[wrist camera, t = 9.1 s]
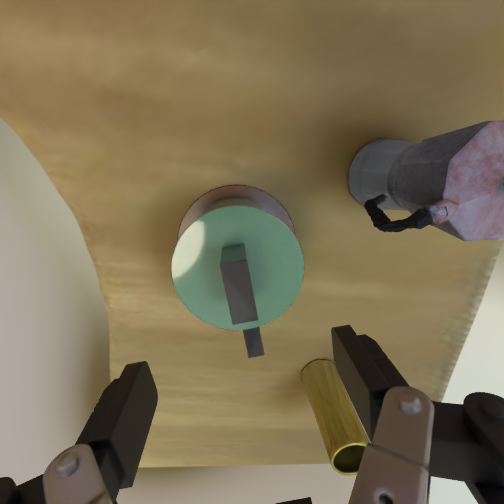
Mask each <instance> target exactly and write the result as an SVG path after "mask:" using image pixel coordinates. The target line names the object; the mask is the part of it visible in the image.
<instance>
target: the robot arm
mask: <svg viewBox="0 0 504 504" xmlns="http://www.w3.org/2000/svg"><path fill="white" fill-rule="evenodd" d="M331 333H332V344H333V354H334V361H335V365H336V369H337V371H338V374H339V376H340V378H341V380H342V382H343V384H344V386H345V388H346V391H347V393H348V395H349V397H350V399H351V401H352V403H353V405H354V407H355V409H356V412H357V414H358V416H359V418H360V420H361V422H362V424H363V426H364V428H365V431H366V433H367V435H368V437H369V439H370V441H371V444H370V443H367V445H366V447H365V450H364V453H363V456H362V460H361V463H360V466H359V470H358V473H357V476H356V480H355V483H354V487H353V490H352V494H351V497H350V500H349V503H348V504H429V494H430V483H431V476H434V477H440V478H446V479H452V480H458V481H464V482H465V483H466V485H467V487H468V488H469V490H470V491H471V493H472V494H473V496H474V498H475V499H476V500H477V502H478V504H504V398H502V397H499V396H497V395H494V394H490V393H485V392H475V393H471V394H469V395H467V396H466V397H465V399H464V404H463V405H461V404H450V403H441V402H436V401H432V400H430V398H429V397H428V396H427V395H426V394H424V393H423V392H421V391H420V390H417V389H415V388H412V387H410V386H409V385H408V383H407V382H406V381H405V379H404V378H403V377H402V375H401V374H400V373H399V371H398V370H397V369H396V368H395V366H394V365H393V364H392V362H391V361H390V360H389V359H388V357H387V356H386V354H385V353H384V352H383V351H382V349H381V348H380V346H379V345H378V344H377V342H376V341H375V340H373V339H372V338H370V337H368V336H367V335H365V334H364V335H359V336H357V335H356V333H355V332H354V330H353V329H352V327H351V326H350V325H344V326H339V327H333V328H332V329H331ZM157 401H158V394H157V389H156V386H155V383H154V380H153V377H152V374H151V371H150V368H149V366H148V363H147V362H146V361H143V362H137V363H132V364H127V365H126V366H125V368H124V370H123V372H122V374H121V376H120V378H118V379H114V380H113V381H112V383H111V384H110V385H109V386H108V387H107V388H106V389H105V390H104V392H103V394H102V396H101V397H100V399H99V403H97V405H96V407H95V408H94V412H92V414H91V416H90V418H89V419H88V421H87V423H86V425H85V427H84V429H83V431H82V432H81V435H80V436H79V438H78V440H77V442H76V443H75V445H74V446H72V447H70V448H68V449H66V450H64V451H63V452H62V453H60V454H59V455H58V456H57V457H56V458H55V459H54V460H53V461H52V462H51V463H50V465H49V466H48V467H47V469H46V471H45V473H44V474H42V475H40V476H38V477H36V478H34V479H31V480H29V481H27V482H25V483H23V484H21V485H18V486H16V484H15V482H14V481H13V479H11V478H9V477H3V478H0V504H118V503H117V501H116V498H117V495H118V492H119V489H123V488H128V487H132V485H133V482H134V479H135V475H136V472H137V469H138V466H139V462H140V459H141V456H142V452H143V449H144V446H145V442H146V439H147V436H148V433H149V429H150V426H151V423H152V419H153V416H154V413H155V409H156V406H157ZM276 504H312V501H311V498H310V497H308V498H303V499H297V500H292V501H286V502H281V503H276Z"/></svg>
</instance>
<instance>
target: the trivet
mask: <svg viewBox="0 0 504 504" xmlns="http://www.w3.org/2000/svg"><path fill="white" fill-rule="evenodd" d="M227 198H247V199H251V200H254V201H257V202H259V203H261V204H262V205H264V206H266V207H267V208H268V209H269V210H271V211H272V212H273V214H274V215H275V216H276V217H277V218H279V219H280V220H281V221H282V222H284V223H285V224H286V225H287V226H288V228H289V229H290V230H291V231H292V233H293V234H294V235H295V231H294V227H293V224H292V221H291V219H290V217H289V215H288V213H287V212H286V210H285V209H284V207H283V206H282V205H281V204H280V203H279V202H278V201H277V200H276V199H275V198H273V197H272V196H271V195H269V194H267V193H266V192H264V191H262V190H259V189H257V188H254V187H250V186H244V185H230V186H224V187H220V188H217V189H214V190H212V191H209V192H208V193H206V194H204V195H203V196H201V197H200V198H199V199H198V200H196V201H195V202H194V203H193V205H192V206H191V207H190V208H189V209H188V211H187V212H186V214H185V216H184V218H183V219H182V222H181V225H180V228H179V233H178V241H179V239H180V237H181V235H182V234H183V233H184V231H185V230H186V229H187V228H188V227H189V226H190V225H191V224H192V223H193V222H194V221H195V220H196V219H197V217H198V216H199V215H200V214H201V213H202V212H203V211H204V210H205V209H206V208H207V207H208V206H210V205H212V204H213V203H215V202H218V201H220V200H223V199H227Z"/></svg>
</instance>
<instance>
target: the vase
mask: <svg viewBox="0 0 504 504" xmlns="http://www.w3.org/2000/svg"><path fill="white" fill-rule="evenodd" d="M301 380H302V383H303V385H304V387H305V390H306V392H307V395H308V398H309V401H310V403H311V406H312V409H313V411H314V415H315V418H316V421H317V423H318V426H319V429H320V432H321V435H322V438H323V441H324V443H325V447H326V450H327V453H328V456H329V459H330V462H331V465H332V467H333V469H334V470H335V471H336V472H338V473H339V474H342V475H357V473H358V470H359V466H360V463H361V460H362V456H363V453H364V450H365V447H366V445H367V443H370V442H369V440H368V438H367V436H366V434H365V432H364V430H363V428H362V425H361V423H360V421H359V419H358V417H357V415H356V413H355V411H354V409H353V407H352V404H351V402H350V400H349V397H348V395H347V393H346V390H345V388H344V386H343V383H342V381H341V379H340V376H339V374H338V371H337V369H336V366H335V365H334V364H333V363H332V362H330V361H327V360H316V361H313V362H311V363H309V364H308V365H307V366H306V367H305V368H304V370H303V371H302V375H301Z"/></svg>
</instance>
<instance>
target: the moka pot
mask: <svg viewBox="0 0 504 504" xmlns="http://www.w3.org/2000/svg"><path fill="white" fill-rule="evenodd" d="M348 177H349V191H350V193H351V194H352V196H353V197H354V198H355V199H356V200H357V201H358V202H359V203H360V204H361V205H362V206H364V207H365V209H366V211H367V212H368V214H369V216H370V217H371V220H372V221H373V225H374V227H377V228H378V229H379V230H381V231H384V232H386V231H387V232H392V231H393V232H400V231H402V230H405V229H407V228H417V229H422V228H424V227H425V226H427V225H429V224H430V225H432V226H435V227H437V228H439V229H441V230H443V231H445V232H447V233H449V234H451V235H453V236H455V237H457V238H459V239H461V240H463V241H472V240H485V239H499V238H504V121H485V122H482V123H479V124H476V125H472V126H469V127H466V128H462V129H459V130H456V131H452V132H449V133H445V134H442V135H439V136H435V137H432V138H428V139H425V140H423V141H422V142H421V143H417V142H407V141H399V140H391V139H383V138H380V139H377V140H375V141H373V142H371V143H369V144H368V145H366V146H364V147H363V148H361V149H360V151H359V152H358V153H357V154H356V156H355V157H354V159H353V161H352V164H351V166H350V168H349V175H348ZM381 209H390V210H408V211H409V212H410V213H411V214H412V215H411V216H410V217H408V218H406V219H403V220H397V221H392V222H391V221H390V219H389V218H388V217H387V216H386V215H385V213H383V211H382V210H381Z"/></svg>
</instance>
